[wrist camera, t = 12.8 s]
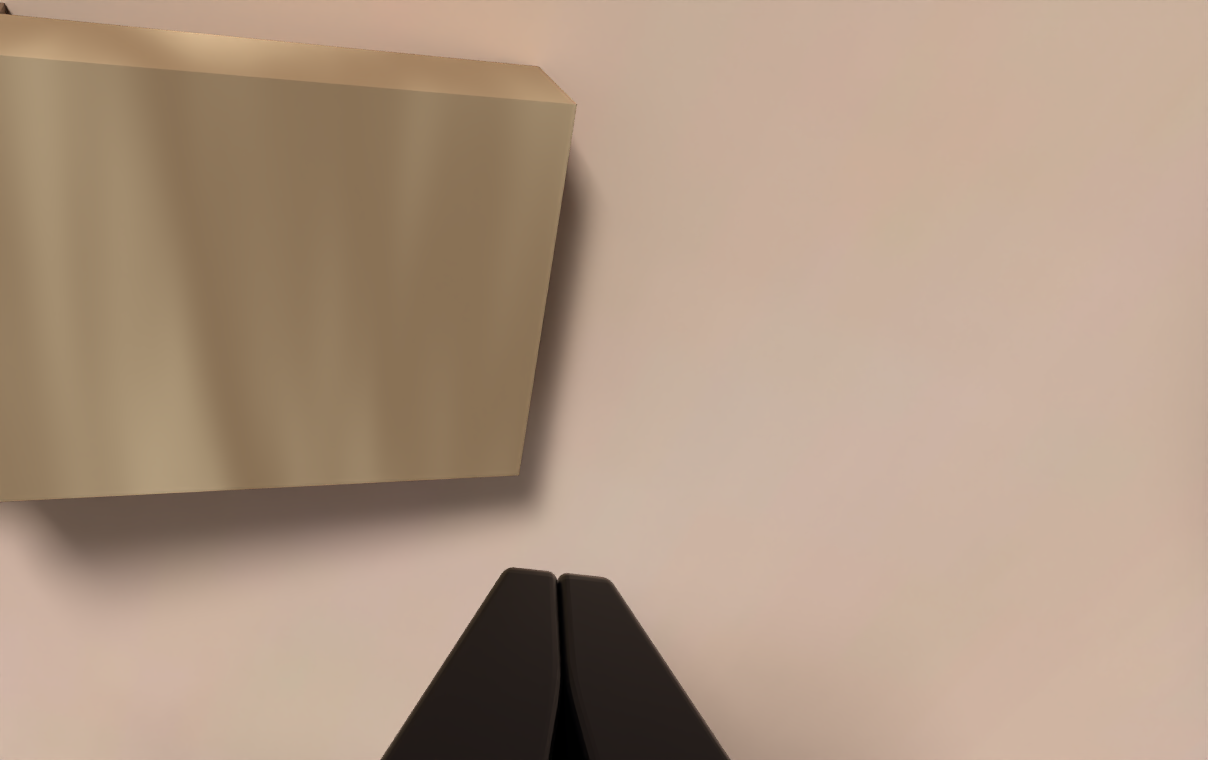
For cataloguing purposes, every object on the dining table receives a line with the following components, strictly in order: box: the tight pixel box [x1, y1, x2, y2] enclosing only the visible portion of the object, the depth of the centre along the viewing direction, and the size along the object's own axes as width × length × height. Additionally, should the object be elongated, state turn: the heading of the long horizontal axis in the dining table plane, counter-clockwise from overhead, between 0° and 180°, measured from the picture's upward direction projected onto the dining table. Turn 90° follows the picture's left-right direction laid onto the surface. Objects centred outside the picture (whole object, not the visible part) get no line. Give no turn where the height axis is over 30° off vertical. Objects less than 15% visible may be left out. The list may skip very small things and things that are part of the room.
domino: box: [0, 14, 577, 502], centre depth 12 cm, size 2×5×8 cm
